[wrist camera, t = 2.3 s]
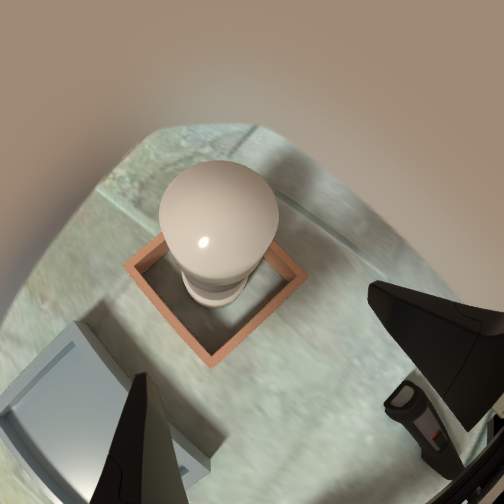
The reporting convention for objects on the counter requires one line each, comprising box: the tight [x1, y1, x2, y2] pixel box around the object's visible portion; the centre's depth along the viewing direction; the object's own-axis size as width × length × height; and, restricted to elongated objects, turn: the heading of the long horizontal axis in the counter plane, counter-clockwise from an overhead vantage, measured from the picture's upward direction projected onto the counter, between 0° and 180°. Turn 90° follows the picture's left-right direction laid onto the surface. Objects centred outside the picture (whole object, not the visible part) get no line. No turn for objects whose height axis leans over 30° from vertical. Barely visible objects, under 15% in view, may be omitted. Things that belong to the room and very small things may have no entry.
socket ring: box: [123, 232, 309, 369], centre depth 21 cm, size 9×9×2 cm
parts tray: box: [0, 320, 211, 504], centre depth 15 cm, size 14×14×2 cm
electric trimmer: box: [384, 380, 465, 480], centre depth 18 cm, size 4×16×3 cm, turn 38°
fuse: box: [159, 161, 279, 309], centre depth 16 cm, size 4×4×12 cm
